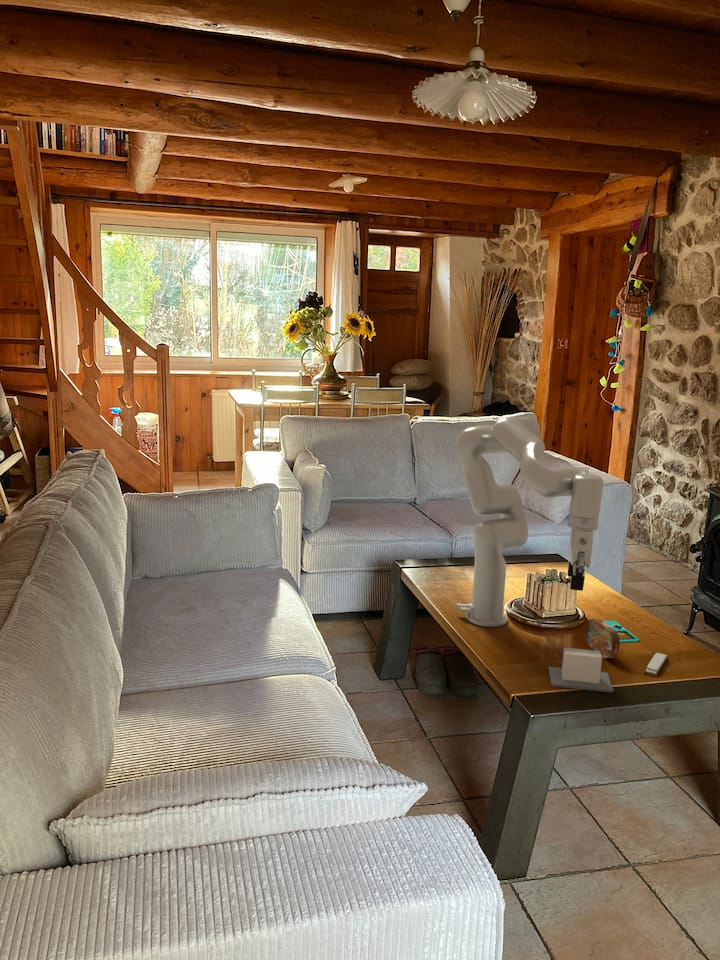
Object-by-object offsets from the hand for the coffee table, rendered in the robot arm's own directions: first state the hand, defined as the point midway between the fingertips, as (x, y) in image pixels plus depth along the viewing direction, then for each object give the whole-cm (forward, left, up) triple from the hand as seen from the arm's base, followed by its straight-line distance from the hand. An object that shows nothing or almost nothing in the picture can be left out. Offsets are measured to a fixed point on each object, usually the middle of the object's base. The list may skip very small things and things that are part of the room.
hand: (574, 583), depth 200 cm
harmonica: (+24, +4, -23) cm, 33 cm away
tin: (+10, +9, -23) cm, 27 cm away
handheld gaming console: (+16, +25, -23) cm, 38 cm away
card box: (+2, -10, -22) cm, 24 cm away
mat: (+2, -11, -23) cm, 25 cm away
